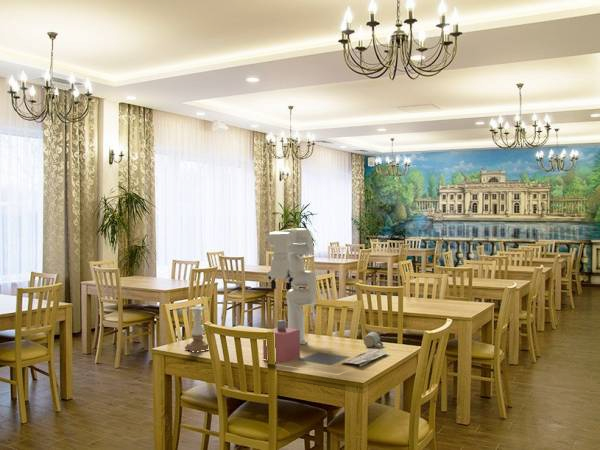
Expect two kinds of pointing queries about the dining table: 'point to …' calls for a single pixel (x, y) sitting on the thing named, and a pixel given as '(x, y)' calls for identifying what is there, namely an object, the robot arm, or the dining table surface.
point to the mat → (324, 358)
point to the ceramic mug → (372, 340)
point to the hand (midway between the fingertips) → (281, 289)
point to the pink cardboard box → (285, 343)
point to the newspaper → (366, 357)
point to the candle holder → (197, 331)
